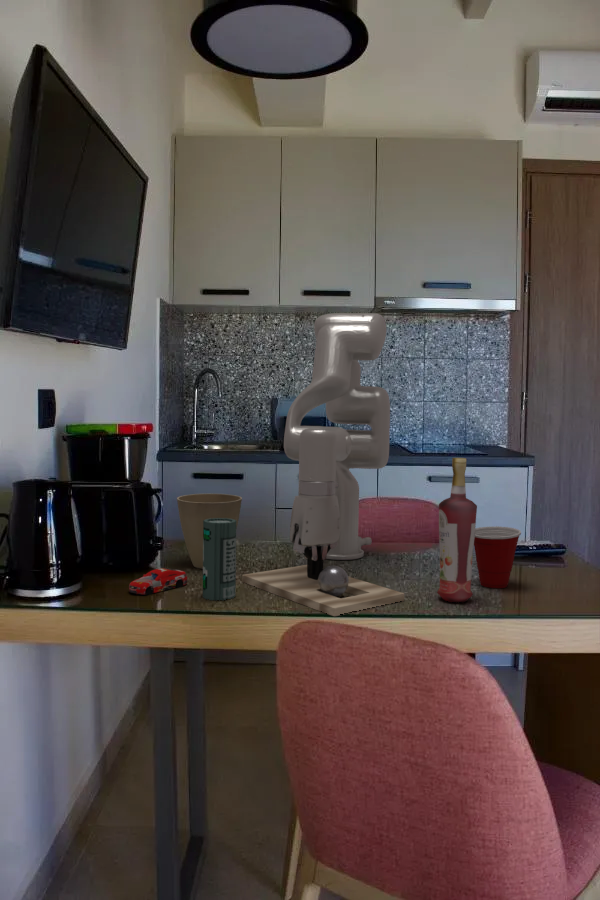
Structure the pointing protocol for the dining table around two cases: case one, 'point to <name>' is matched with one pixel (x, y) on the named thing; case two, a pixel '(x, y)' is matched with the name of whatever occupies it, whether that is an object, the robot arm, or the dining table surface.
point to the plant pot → (204, 518)
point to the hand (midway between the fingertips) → (315, 578)
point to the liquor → (456, 538)
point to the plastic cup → (495, 554)
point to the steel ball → (333, 580)
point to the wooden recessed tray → (308, 592)
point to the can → (219, 558)
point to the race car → (158, 581)
